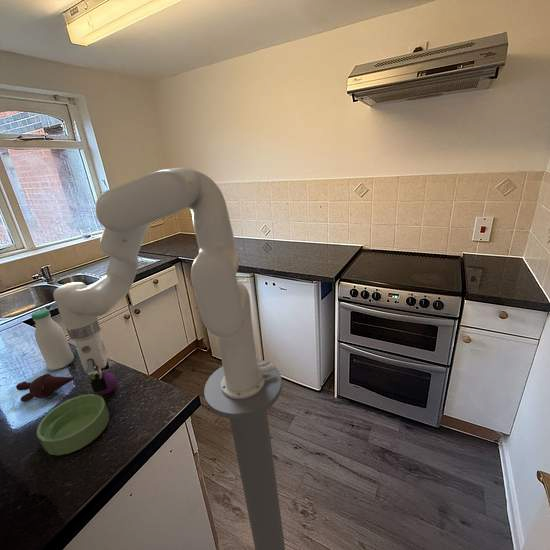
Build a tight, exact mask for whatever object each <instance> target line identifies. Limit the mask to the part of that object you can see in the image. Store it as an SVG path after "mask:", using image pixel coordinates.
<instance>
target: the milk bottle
mask: <svg viewBox="0 0 550 550" xmlns="http://www.w3.org/2000/svg"><path fill="white" fill-rule="evenodd" d="M51 316H52V315H51V312H50V310H49V309H47V308H44V309H39V310H37V311H34V312H33V313H32V314H31V318H32V320H33V322H34V324H35V330H34V338H35V342H36V344H37V347H38V349H39V351H40V353H41V356H42V359H43V360H44V363H45V364H46V367H47V368H48V369H49V370H52V371H53V370H61V369H62V368H65V367H67V366H69V365H70V364H71V363H73V361H74V358H75V356H74V354H73V351H72V349H71V346H70V344H69V340H68V339H67V336H66V334H65V331H64V330H63V328H62V327H61V326H60V324H58V323H57V322H56V321H54V319H53V318H52V317H51Z"/></svg>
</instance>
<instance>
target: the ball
mask: <svg viewBox="0 0 550 550" xmlns="http://www.w3.org/2000/svg"><path fill="white" fill-rule="evenodd" d="M101 373H102V372H101ZM102 376H104V379H105V382H106V385H107V389H106V390H103V391H99V392H96V394H97V395H100V396H102V395H108V394H110V393H112V392H114V390H115V389H116V387H117V386H118V385H117V384H118V379H117V377H116V375H115V374H113V373H112V372H103V373H102Z"/></svg>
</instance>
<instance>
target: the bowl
mask: <svg viewBox="0 0 550 550" xmlns="http://www.w3.org/2000/svg"><path fill="white" fill-rule="evenodd" d="M109 422H110V412H109V410H108V406H107V403H106V401H105V400H104V398H103V396H102V395H100V394H95V393H93V394H92V393H88V394H82V395H81V394H80V395H79V396H75V397H73V398H70V399H68V400H66V401H64V402H62V403H60V404H59V405H57V406H55V407H54V408H53V409H51V410H50V411H48V413H47V414H46V415H45V416H44V417H42V419H41V421H40V422H39V424H38V426H37V429H36V436H37V439H38V441H39V443H40V444H41V446H42V449H43V450H44V452H46V453H47V454H49V455H51V456H63V455H68V454H71V453H74V452H76V451H78V450H81V449H83V448H84V447H86V446H87V445H89V444H91V443H92V442H93V441H94V440H96V439H97V438H98V437H99V436H100V435H101V434H102V433H103V431H104V430H105V429H106V428H107V426H108V423H109Z"/></svg>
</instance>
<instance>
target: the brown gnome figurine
mask: <svg viewBox="0 0 550 550" xmlns="http://www.w3.org/2000/svg"><path fill="white" fill-rule="evenodd" d="M73 380H75V377H73V376H55V375H51V373H44V374H43V375H39V376H38V377H36V378H35V379H34V380H32V381H31V382H27V381H22V382H19V383H17V384H16V386H15V388H16V390H17V391H20V392H21V391H29V392H28V393H24V395H22V396H20V402H22V403H26V402H29V401H31V400H33V399H34V398H36V399H46V398H47V399H48V398H51V397H53V396H54V394H55V392H56V391H58V390H60V389H61V388H62V387H64V386H65V385H67V384H69V383H70V382H72V381H73Z"/></svg>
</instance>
